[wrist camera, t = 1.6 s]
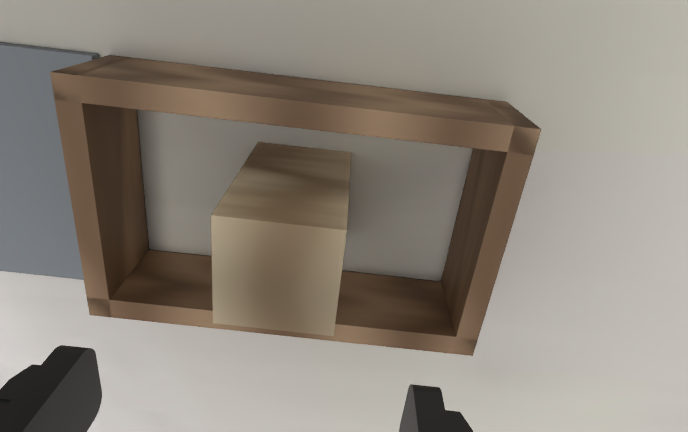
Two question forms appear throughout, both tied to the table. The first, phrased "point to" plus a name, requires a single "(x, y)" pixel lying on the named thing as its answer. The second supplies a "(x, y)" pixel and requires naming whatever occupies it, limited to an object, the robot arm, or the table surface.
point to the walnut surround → (300, 112)
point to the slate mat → (35, 166)
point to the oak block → (281, 240)
